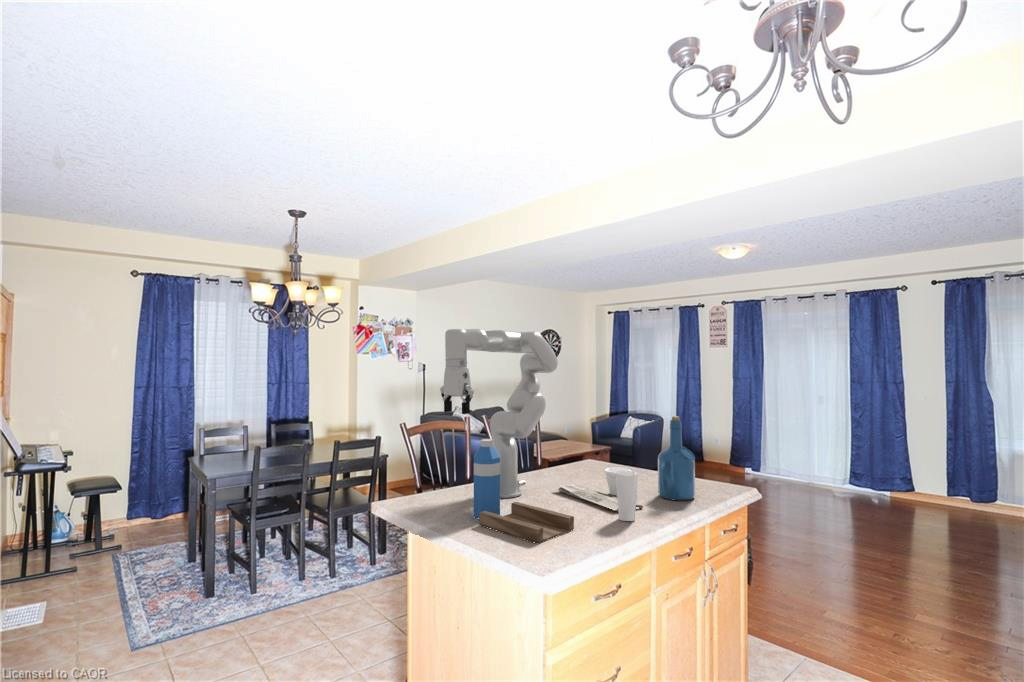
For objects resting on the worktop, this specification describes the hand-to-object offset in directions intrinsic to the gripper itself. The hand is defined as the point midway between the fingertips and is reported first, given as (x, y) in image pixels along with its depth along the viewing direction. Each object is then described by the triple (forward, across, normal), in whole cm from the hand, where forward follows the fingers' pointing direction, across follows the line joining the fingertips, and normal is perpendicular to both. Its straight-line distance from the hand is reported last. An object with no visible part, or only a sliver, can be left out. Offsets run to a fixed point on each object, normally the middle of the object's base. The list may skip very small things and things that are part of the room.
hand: (456, 412), depth 184 cm
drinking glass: (+34, -51, -28) cm, 67 cm away
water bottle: (+33, -15, 0) cm, 36 cm away
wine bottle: (+34, -50, -65) cm, 89 cm away
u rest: (+33, -32, 0) cm, 46 cm away
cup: (+34, -32, -53) cm, 70 cm away
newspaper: (+34, -30, -40) cm, 61 cm away
